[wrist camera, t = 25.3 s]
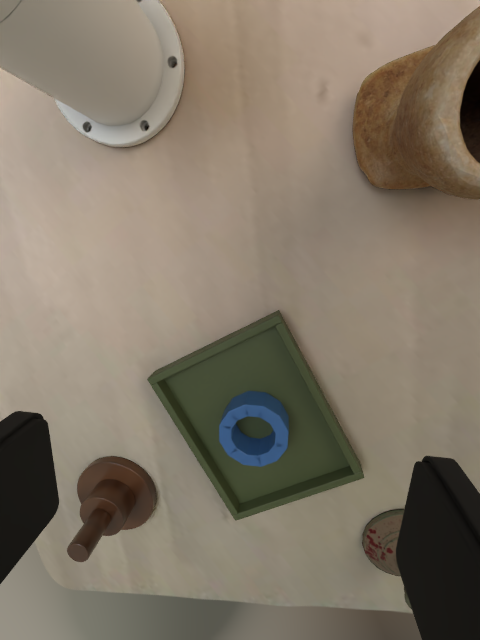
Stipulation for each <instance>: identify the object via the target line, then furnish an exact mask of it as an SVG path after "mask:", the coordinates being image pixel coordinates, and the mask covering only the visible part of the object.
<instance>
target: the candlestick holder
mask: <svg viewBox="0 0 480 640" xmlns="http://www.w3.org/2000/svg"><path fill="white" fill-rule="evenodd" d="M403 514H404V510H402V509H400V510H393V511H388V512H385V513H383V514H380V515H379V516H377V517H375V518H374V519H372V520H371V522H370V523H369V524H368V525H367V526H366V528H365V530H364V533H363V540H362V544H363V548H364V551H365V553H366V555H367V557H368V558H369V560H370V561H371V562H372V563H373V564H374V565H375V566H376V567H377V568H379V569H380V570H382V571H384V572H386V573H389V574H392V575H395V576H401V575H400V572H399V569H398V565H397V560H396V546H397V541H398V537H399V532H400V528H401V523H402V519H403ZM404 591H405V600H406V603H407V604H408V606H409V607H410V608H411V605H410V602H409V599H408V596H407V593H406V590H405V587H404ZM411 609H412V608H411Z"/></svg>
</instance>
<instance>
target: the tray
mask: <svg viewBox="0 0 480 640" xmlns="http://www.w3.org/2000/svg"><path fill="white" fill-rule="evenodd" d="M148 381H149V383H150V385H151V386H152V388H153V389H154V391H155V393H156V394H157V396H158V397H159V399H160V401H161V402H162V404H163V405H164V407H165V409H166V410H167V412H168V413H169V415H170V417H171V418H172V420H173V421H174V423H175V425H176V426H177V428H178V429H179V431H180V433H181V434H182V436H183V437H184V439H185V441H186V442H187V444H188V445H189V447H190V449H191V450H192V452H193V453H194V455H195V457H196V458H197V460H198V461H199V463H200V465H201V466H202V468H203V469H204V471H205V473H206V474H207V476H208V477H209V479H210V481H211V482H212V484H213V485H214V487H215V489H216V490H217V492H218V493H219V495H220V497H221V498H222V500H223V501H224V503H225V505H226V506H227V508H228V509H229V511H230V513H231V514H232V515H233V517H234V519H235V520H239V519H242V518H245V517H248V516H251V515H254V514H257V513H260V512H263V511H266V510H269V509H272V508H275V507H278V506H281V505H284V504H287V503H290V502H293V501H296V500H299V499H302V498H305V497H308V496H311V495H314V494H317V493H320V492H323V491H326V490H329V489H332V488H335V487H338V486H341V485H344V484H347V483H350V482H353V481H356V480H359V479H362V478H364V474H363V471H362V468H361V464H360V463H359V461H358V459H357V457H356V455H355V453H354V451H353V449H352V447H351V445H350V444H349V442H348V440H347V438H346V436H345V434H344V432H343V430H342V428H341V427H340V425H339V423H338V421H337V419H336V417H335V415H334V413H333V411H332V409H331V408H330V406H329V404H328V402H327V400H326V398H325V396H324V394H323V392H322V391H321V389H320V387H319V385H318V383H317V381H316V379H315V377H314V375H313V374H312V372H311V370H310V368H309V366H308V364H307V362H306V360H305V358H304V356H303V355H302V353H301V351H300V349H299V347H298V345H297V343H296V341H295V339H294V338H293V336H292V334H291V332H290V330H289V328H288V326H287V324H286V322H285V321H284V319H283V317H282V315H281V313H280V311H279V310H278V311H276V312H274V313H272V314H270V315H268V316H266V317H264V318H262V319H260V320H258V321H256V322H254V323H252V324H250V325H248V326H246V327H244V328H242V329H240V330H238V331H236V332H234V333H232V334H229V335H227V336H225V337H223V338H221V339H219V340H217V341H215V342H213V343H211V344H209V345H207V346H205V347H203V348H201V349H199V350H197V351H195V352H193V353H191V354H189V355H187V356H185V357H183V358H181V359H179V360H177V361H175V362H173V363H171V364H169V365H167V366H165V367H163V368H161V369H159V370H156V371H155V372H154V373H153V374H152V375H151V376H150V377H149V378H148ZM247 391H257V392H266V393H268V394H269V395H271V396H272V397H274V398H276V399H277V400H279V401H280V402H281V403H282V405H283V407H284V409H285V410H286V412H287V414H288V417H289V434H288V447H287V449H286V451H285V452H284V453H283V454H282V456H281V457H280V458H279V459H278V461H276V462H273V463H270V464H267V465H265V466H262V467H258V466H249V465H243V464H241V463H240V462H238V461H236V460H235V459H233V458H232V457H230V456H229V455H227V453H226V451H225V450H224V448H223V446H222V445H221V443H220V441H219V424H220V422H221V419H222V416H223V413H224V410H225V409H226V407H227V406H228V404H229V403H230V401H231V400H232V398H234V397H235V396H238V395H240V394H242V393H245V392H247ZM236 424H237V426H238V428H239V430H240V431H241V433H243V434H245V435H246V436H248V437H250V438H259V439H261V438H264V437H266V436H269V435H270V434H271V433H272V432H273V428H272V426H271V425H270V423H268V422H266V421H265V420H263V419H262V418H260V417H250V416H247V417H245V418H242V419H240V420H238V421H237V422H236Z"/></svg>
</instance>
